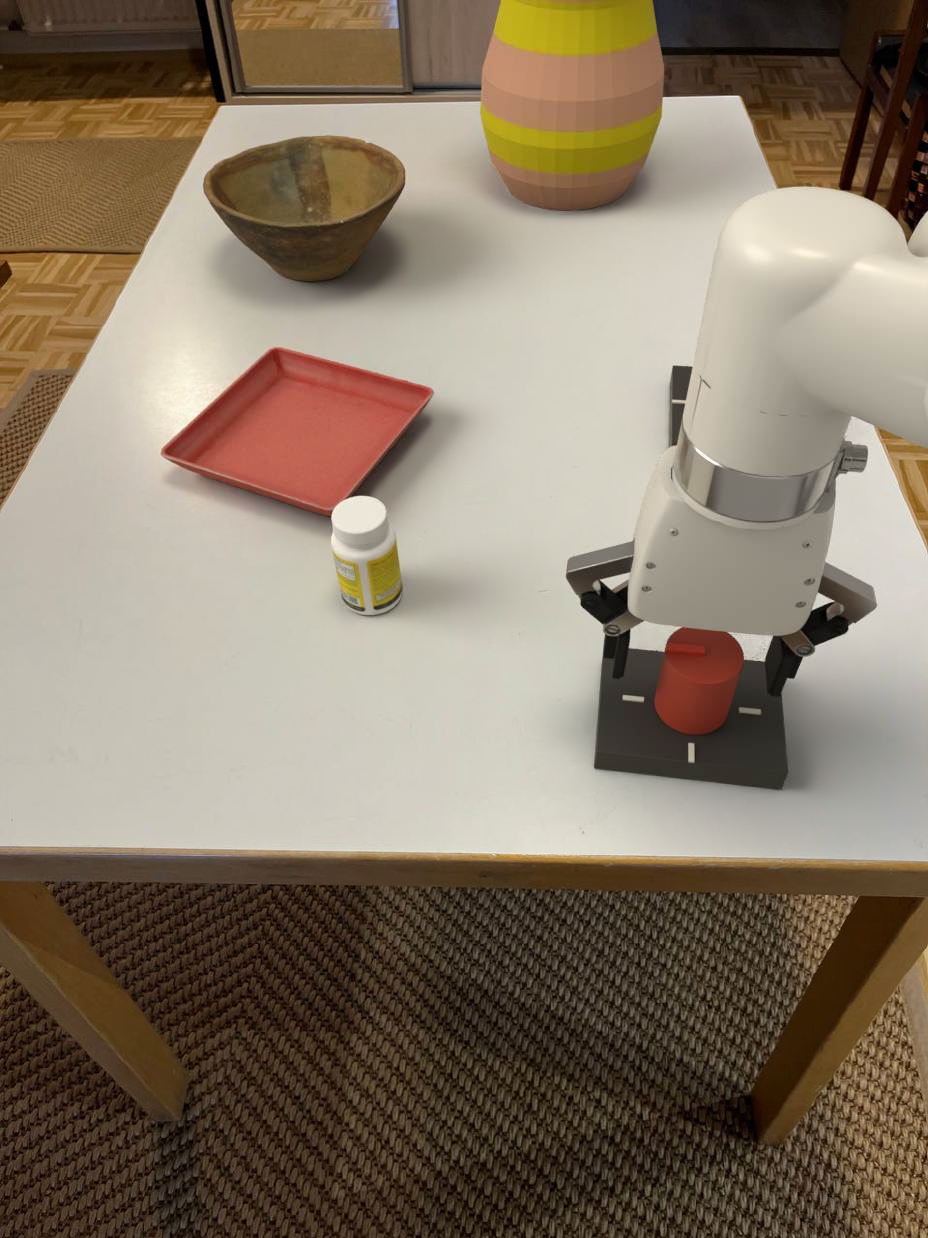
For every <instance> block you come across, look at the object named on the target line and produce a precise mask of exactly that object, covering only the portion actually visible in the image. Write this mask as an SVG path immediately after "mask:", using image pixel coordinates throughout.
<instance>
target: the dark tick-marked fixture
mask: <svg viewBox="0 0 928 1238" xmlns="http://www.w3.org/2000/svg"><path fill="white" fill-rule="evenodd" d="M663 656H664V651H662V650H653V649H652V650H651V649H641V648H631V647H629V649H628V655H627V660H626V666H625V671H624V676H623V677H620V679H614V678H612V666H613V659H607V658H603V656H601V657H602V658H601V665H600V666H601V668H600V681H599V695H598V707H597V723H596V735H595V747H594V762H593V768H594V769H597V770H605V771H606V770H607V771H615V772H624V773H633V774H641V775H650V776H658V777H666V778H675V779H684V780H693V781H701V782H710V783H718V784H728V785H736V786H744V787H751V788H753V787H754V788H762V789H771V790H780V791H781V790H782V789H783V787H784V784H785V783H786V780H787V778H788V775H789V764H788V755H787V754H788V752H787V741H786V731H785V729H786V728H785V727H786V726H785V718H784V707H783V694H782V693H781V695H780V697H775V696H770V694H768V693H767V682H766V668H765V660H752V659H744V663H743V667H742V670H741V673H740V677H739V680H738V683H737V686H736V689H735V693H734V696H733V699H732V702H731V705H730V709H729V712H728V715H727V718H726V720H725V721H724V723H723V724H722V725H721V726H720V727H719V728H718V729H716V730H714V731H712V732H710V733H707V734H701V735H691V734H685V733H682V732H679V731H677V730H675V729H673V728H671V727H670V726H668V725H667V724H666V723H665V722H664V721H663V720H662V719H661V718H660V716H659V715H658V713H657V711H656V708H655V695H656V690H657V685H658V680H659V675H660V670H661V666H662V661H663Z"/></svg>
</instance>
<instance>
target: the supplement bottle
mask: <svg viewBox="0 0 928 1238" xmlns="http://www.w3.org/2000/svg"><path fill="white" fill-rule="evenodd" d="M387 510H388V509H387V507H386V506H385V504H384V502H382V501H381V500H379V499H378V498H376V497H373V496H368V495H356V496H351V497H350V498H348V499H346V500H344V501H342V502H340V503H339V504H338V505H337V506H336V507H335V508H334V510H333V512H332V515H331V516H330V518H331V524H332V534H331V537H330V548H331V552H332V557H333V561H334V566H335V571H336V577H337V580H338V586H339V591H340V594H341V599H342V601H343V604H344V605H345V606H346V608H348V609H349V610H350V611H352V612H353V613H355V614H359V615H364V616H374V615H380V614H384V613H386V612H388V611H390V610H392V609H393V608H394V607H395V606H397V604H398V603H399V602H400V600H401V598H402V595H403V581H402V573H401V566H400V565H401V564H400V557H399V551H398V549H399V548H398V542H397V536H396V531H395V529H394V526H392V524H391V523H390V521H389V515H388V512H387Z"/></svg>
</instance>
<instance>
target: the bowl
mask: <svg viewBox="0 0 928 1238" xmlns="http://www.w3.org/2000/svg"><path fill="white" fill-rule="evenodd" d="M405 186H406V168H405V165H404V164H403V162H402V161H401V159H399V158H398V157H397V155H395V154H394V153H392V152H391V151H389V150H387V149H385V148H384V147H382V146H380V145H377V144H375V143H373V142H366V141H365V140H363V139H360V138H354V137H349V136H341V135H330V134H329V135H315V136H311V135H310V136H298V137H292V138H288V139H284V140H280V141H276V142H272V143H266V144H262V145H261V144H260V145H258V146H255V147H251V148H247V149H245V150H242V151H241V152H238V153H237V154H235V155H232V156H230V157H227V158H224V159H222V160H219V161H218V162H217V163H215V164H214V165H213V166H212V168H211V169H209V170H208V171H207V172H206V174H205V176H204V178H203V183H202V188H203V194H204V196H205V198H206V199H207V200H208V202H209V204H210V206H211V207H212V209H213V210H214V212H215V213H216V214H217V215H218V217H219V218H220V219H221V221H222V222H223V223H224V225H225V226H226V227H227V228H228V229H229V230H230V232H231V233H232V234H233V235H234V236H235V237H236V238H237V239H238V240H239V241H240V242H241V243H242V244H243V245H244V246H246V247H247V248H248V249H249V250H250V251H251V252H253V254H255V255H257V256H258V257H259V258H261V259H262V260H263V262H265V263H266V264H267V265H269V266H270V267H271V269H273V270H274V271H275V272H276V273H277V274H278V275H280V276H282V277H284V278H287V279H290V280H295V281H303V282H319V281H326V280H332V279H335V278H337V277H339V276H341V275H343V274H345V273H347V271H349V270H350V269H351V268H352V266H353V265H354V264H355V262H356V261H357V260H358V258H359V256H360V255H361V254H362V253H363V251H364V250H365V249H366V247H367V246H368V245H369V244H370V242H371V241H372V239H373V238H374V236H375V235H376V233H378V231H379V230H380V228H381V226H382V224H383V223H384V222H385V220H386V219H387V217H388V216H389V214H390V212H391V211H392V209H393V208H394V206H395V204H396V203H397V202H398V200H399V198H400V196H401V194H402V193H403V192H404V191H403V190H404V189H405Z"/></svg>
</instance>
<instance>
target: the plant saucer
mask: <svg viewBox="0 0 928 1238" xmlns="http://www.w3.org/2000/svg"><path fill="white" fill-rule="evenodd" d="M434 394H435V390H434V389H433V388H432V387H429V386H427V385H423V384H419V383H414V382H411V381H408V380H405V379H400V378H397V377H393V376H389V375H385V374H381V373H378V372H374V371H371V370H368V369H363V368H361V367H356V366H353V365H348V364H345V363H341V362H339V361H335V360H329V359H327V358H322V357H319V356H315V355H311V354H307V353H303V352H300V351H296V350H292V349H289V348H284V347H280V346H276V347H271V348H269V349H268V350H267V351H266V352H264V353H263V355H261V356H260V357H259V358H258V359H257V360H256V361H255V362H254V363H253V364H251V365H250V367H248V368H247V369H246V370H245V371H243V373H242V374H241V375H240V376H239V377H238V378H236V379H235V380H234V381H233V382H232V383H230V385H229V386H227V388H225V390H223V391H222V392H221V393H220V394H219V395H218V396H217V397H216V398H215V399H214V400H213V401H212V402H210V403H209V404H208V405H207V406H206V407H205V408H204V409H202V410H201V412H200V413H198V414H197V415H196V417H194V418H193V419H192V420H191V421H190V422H189V423H188V424H187V425H185V426H184V427H183V428H182V429H181V430H180V431H179V432H178V433H176V434H175V436H173V437H172V438H171V439H170V440H169V441H168V442H167V443H165V445H163V447H161V450H160V456H161V457H162V458H164V459H166V460H167V461H169V462H171V463H173V464H175V465H177V466H179V467H181V468H183V469H185V470H187V471H190V472H191V473H195V474H197V475H200V476H203V477H206V478H209V479H213V480H216V481H217V482H218V481H219V482H221V483H225V484H229V485H231V486H234V487H237V488H240V489H243V490H246V491H249V492H252V493H256V494H259V495H262V496H265V497H268V498H270V499H274V500H277V501H280V502H282V503H286V504H289V505H292V506H294V507H297V508H300V509H303V510H307V511H310V512H313V513H315V514H319V515H322V516H324V517H325V516H326V517H332V512H333V510H334V508H335V507H336V506H337V505H338V504H339V503H340V502H342V501H344V500H346V499H348V498H351V497H353V494H354V493H356V491H357V490H358V488H360V486H361V485H362V484H363V483H364V482H365V480H366V479H367V478H368V476H370V474H372V472H373V470H374V469H375V468H376V467H377V466H378V465H379V463H380V462H382V460H383V459H384V458H385V457H386V455H387V454H388V453H389V452H390V450H391V449H392V448H393V447H394V446H395V444H396V443H397V442H398V441H399V439H400V438H401V437H402V436H403V435H404V434H405V433H406V431H407V430H408V429H409V428H410V426H412V424H413V423H414V422H415V421H416V419H417V418H418V417H419V416H420V415H421V413H422V412H423V411H424V409H425V408H426V407H427V406H428V404H429V402H430V401H431V400H432V398H433V396H434Z"/></svg>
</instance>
